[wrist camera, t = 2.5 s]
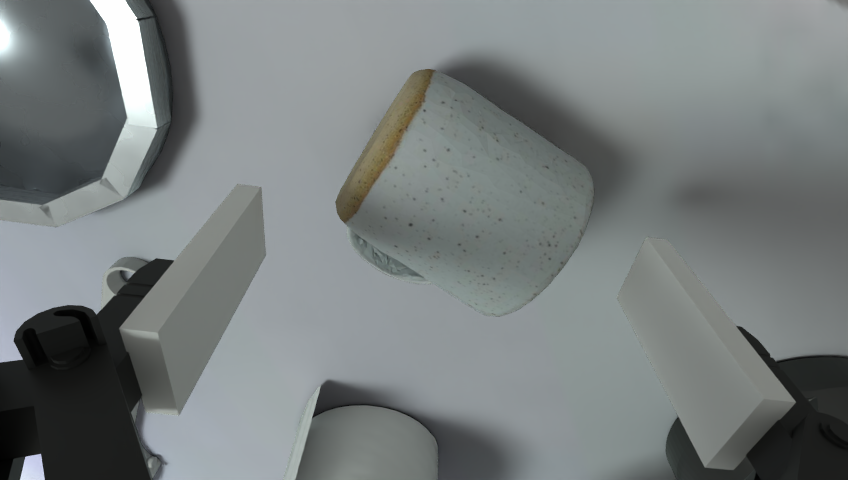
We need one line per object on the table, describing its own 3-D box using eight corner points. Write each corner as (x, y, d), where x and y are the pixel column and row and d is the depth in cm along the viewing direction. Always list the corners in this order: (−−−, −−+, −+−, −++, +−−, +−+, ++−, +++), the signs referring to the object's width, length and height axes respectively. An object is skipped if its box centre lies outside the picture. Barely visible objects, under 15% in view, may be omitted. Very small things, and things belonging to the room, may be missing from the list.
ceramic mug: (423, 37, 19) (412, 84, 12) (571, 139, 21) (627, 224, 15) (316, 220, 24) (269, 320, 17) (445, 287, 26) (445, 398, 20)
